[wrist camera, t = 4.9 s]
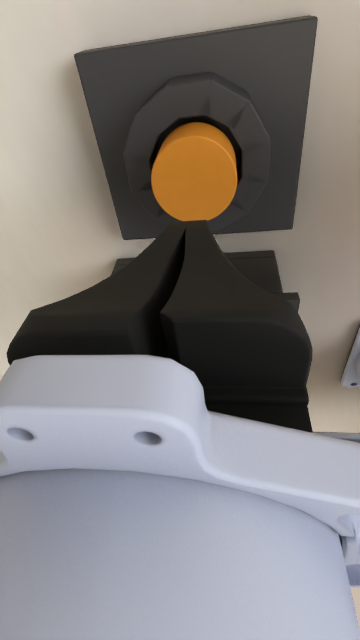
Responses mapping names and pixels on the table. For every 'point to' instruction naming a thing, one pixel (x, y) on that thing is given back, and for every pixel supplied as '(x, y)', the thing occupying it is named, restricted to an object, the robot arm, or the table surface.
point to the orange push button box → (204, 116)
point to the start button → (195, 172)
